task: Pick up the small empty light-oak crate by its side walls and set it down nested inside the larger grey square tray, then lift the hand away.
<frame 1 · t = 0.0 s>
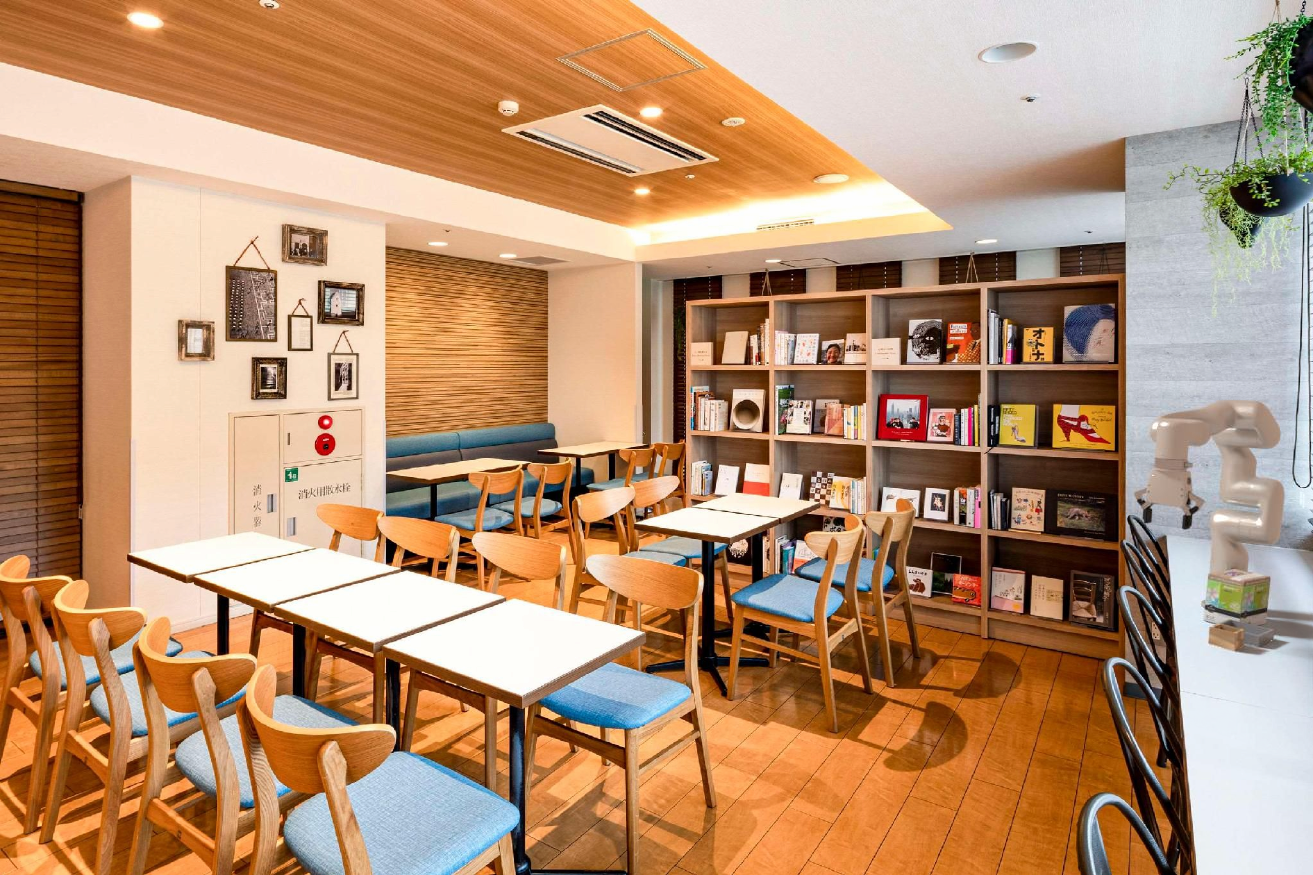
hand: (1166, 525, 213), 31 cm above the counter, tool pointing down, fingers open, 9 cm apart
grey square tray: (1242, 637, 213), on the counter
oak crate: (1225, 646, 207), on the counter
tea box: (1234, 623, 227), on the counter
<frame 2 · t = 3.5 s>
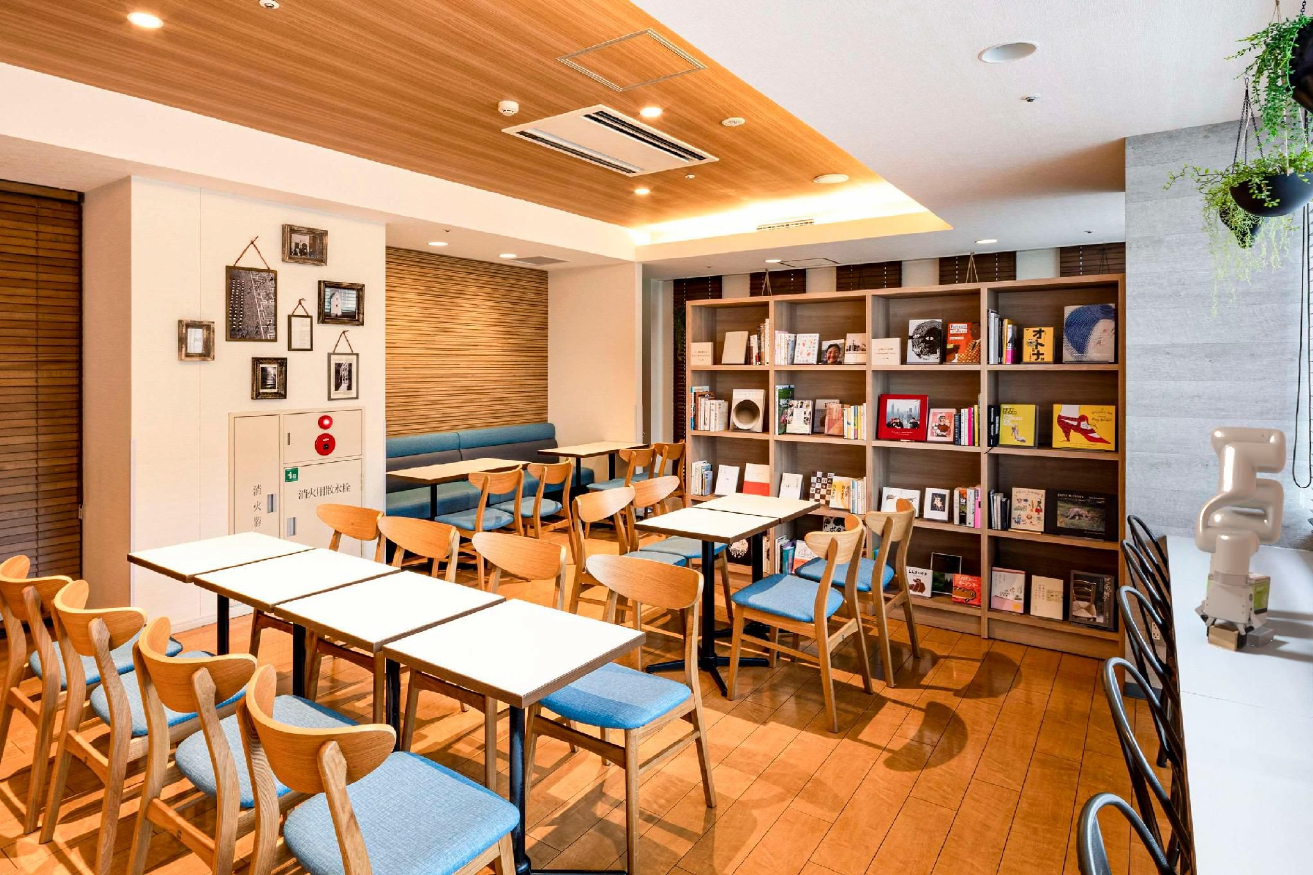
hand: (1225, 643, 207), 1 cm above the counter, tool pointing down, fingers closed on oak crate, 6 cm apart
oak crate: (1225, 645, 207), on the counter, touching gripper
everything else where it was.
when the fingers open (4 cm above the counter, at t = 8.8 s): oak crate drops 2 cm, resting on grey square tray.
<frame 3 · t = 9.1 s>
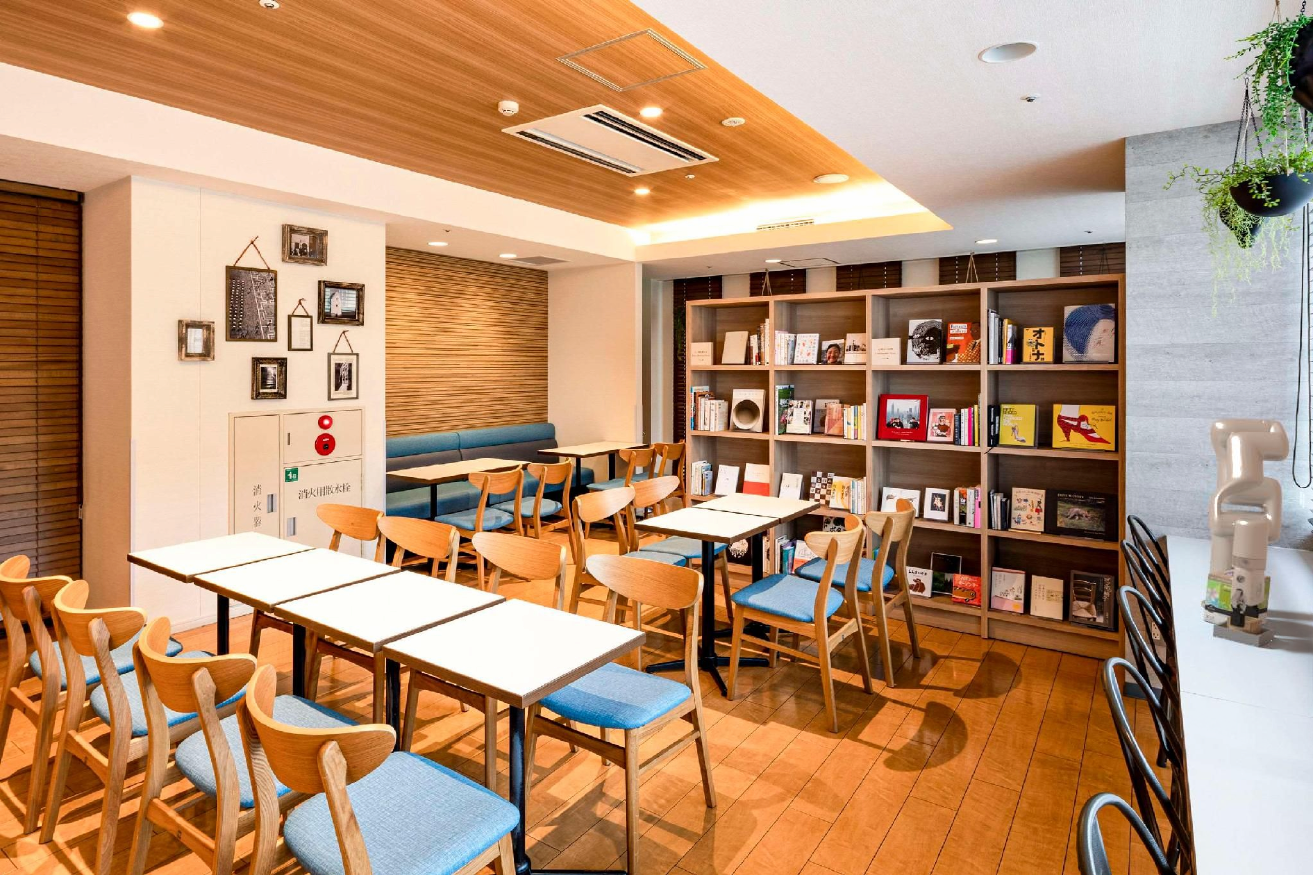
hand: (1244, 623, 213), 4 cm above the counter, tool pointing down, fingers open, 9 cm apart
oak crate: (1243, 635, 213), point 1 cm above the counter, touching grey square tray
everything else where it was.
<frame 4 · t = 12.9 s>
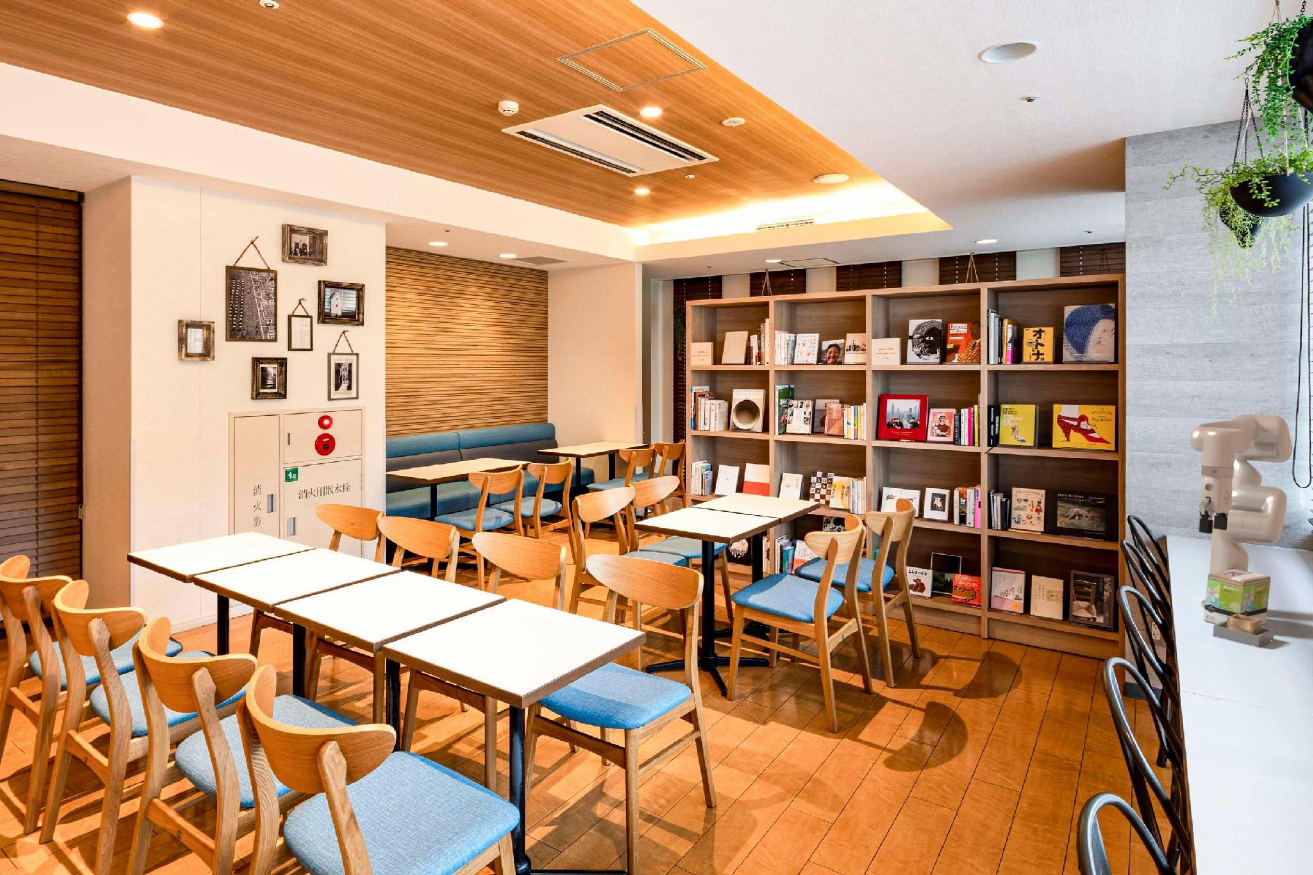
hand: (1212, 531, 220), 28 cm above the counter, tool pointing down, fingers open, 9 cm apart
nothing on the counter moved.
at the end: oak crate 0.1 cm off-centre on the grey square tray, point 0.6 cm above the grey square tray's base; oak crate tilted 0°; the gripper is holding nothing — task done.
